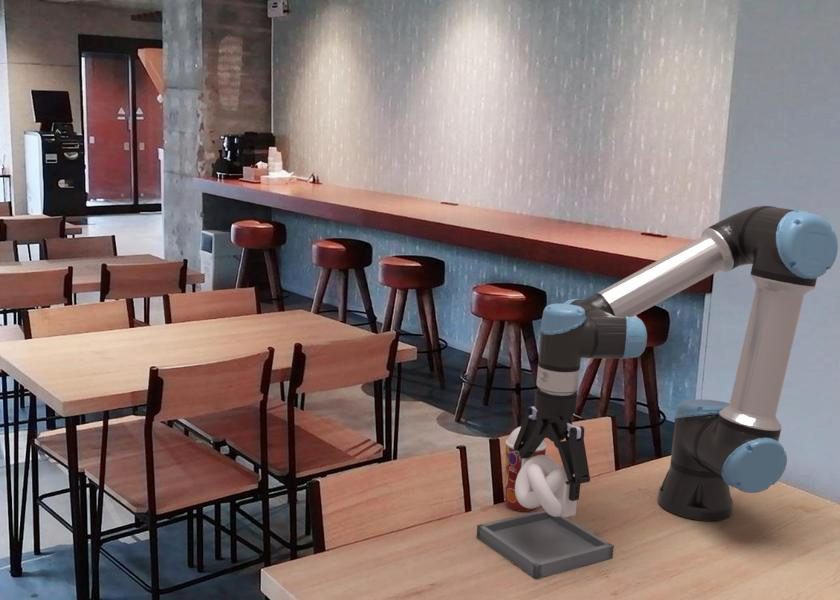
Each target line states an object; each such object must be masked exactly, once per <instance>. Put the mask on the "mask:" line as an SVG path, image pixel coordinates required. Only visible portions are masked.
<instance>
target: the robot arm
mask: <svg viewBox="0 0 840 600" xmlns="http://www.w3.org/2000/svg"><path fill="white" fill-rule="evenodd" d="M838 248H839V244H838V237H837V234H836V232H835V230H834V229H833V228H832V225H831V224H830V223H829V221H828V220H826V219H825V218H824V217H822V216H820V215H818V214H815V213H811V212H809V211H806V210H798V209H797V210H796V209H790V208H789V209H788V208H783V207H782V208H781V207H775V206H771V205H760V206H758V205H757V206H752V207H749V208H746V209H743V210H741V211H739V212H737V213H734V214H732V215H730V216H728V217H725V219H722V220H720V221H718V222H716V223H714V224H712V225H710V226H709V227H707V228H705V229H703V231H702V233H701V236H700V237H698V238H696V239H695V240H693V241H691V242H690V243H688V244H686V245H684V246H682V247H680V248H678V249H677V250H675V251H673V252H671V253H669V254H667V255H665V256H664V257H661V258H660V259H658V260H656V261H654V262H652V263H651V264H649V265H647V266H645V267H643V268H640V269H639V270H638V271H635V272H634V273H632V274H630V275H628V276H626V277H624V278H623V279H620V280H619V281H617V282H615V283H613V284H612V285H610V286H608V287H606V288H604V289H602V290H600V291H599V292H596V293H595V294H593V295H590V296H588V297H587V298H584V299H582V298H580V299H579V298H577V299H576V298H574V299H569V300H566V301H565V302H563V303H551V304H548V305H546V306H545V307H544V309H543V312H542V317H541V323H540V328H539V332H540V334H539V349H538V350H539V351H538V362H537V374H536V375H537V376H536V384H535V385H536V386H537V389H535V395H534V406H533V405H532V406H528V407H526V408H525V411H524V418H523V421H522V424H521V425H520V426H521V428H520V431H519V434H518V436H517V439H516V441H515V444H514V450H515V451H518V452H519V456H520V457H521V459H520V469H521V468H522V466H523V465H524V464H525V463H526V462H527V461H528V460H529V459H530V458H532V457H531V456H532V455H535V454H534V452H535V451H536V449H537V448H538V447H539V445H540V444H541V443H542V441H543V440H544V441H545V439H548V440H549V441H551V442H553V445H554V446H555V448H557V451H558V453H559V457H560V459H561V463H562V466H564V469H565V473H566V476H567V479H568V481H566V482H564V492H563V503H562V514H561V516H562V517H566V518H568V517H572V516H576V513H577V505H578V504H577V501H579V499H580V491H581V484H584V483H585V484H586V483H590V482H591V476H590V470H589V464H588V457H587V451H586V446H585V427H584V426H583V425H580V426H576V425H574V424H573V421H572V417H573V416H574V414H575V413H576V411H577V403H578V393H577V391H578V390H579V384H580V383H579V382H580V370H581V362H582V359H621V360H624V359H633V358H639V357H641V356H642V354H643V353H644V352H645V349H646V348H647V342H648V332H647V327H646V325H645V323H644V321H643V320H642V319H641V318H639V317H635V316H637V315H639V314H641V313H642V312H644V311H647V310H648V309H650V308H653V307H654V306H656V305H658V304H660V303H662V302H664V301H665V300H668V299H669V298H670V297H673V296H674V295H676V294H678V293H680V292H682V291H684V290H685V289H686V290H687V288H689V287H692V286H693V285H695V284H697V283H698V282H700V281H703V280H705V279H706V278H708V277H710V276H712V275H713V274H715V273H718V272H719V271H722V272H730V271H732V270H734V269H736V268H738V267H740V266H746V265H751V269H750V274H749V276H750V278H751V279H752V281H753V282H754V284H755V290H754V296H753V301H752V305H751V310H750V313H749V316H748V322H747V326H746V331H745V335H744V339H743V344H742V348H741V351H740V356H739V360H738V361H739V362H738V365H737V369H736V370H737V371H736V374H735V379H734V382H733V387H732V393H731V395H730V396H731V397H730V400H729V402H726V401H721V400H712V399H701V398H700V399H687V400H683V401H681V402H679V403H678V405H677V407H676V410H675V414H674V424H673V425H674V426H673V427H674V428H673V437H672V445H671V446H672V447H671V453H670V454H671V456H670V465H669V469H668V470H667V472H666V474H665V477H664V479H663V481H662V483H661V486H660V487H659V490H658V496H657V502H658V504H659V505H660V507H661V508H662V509H664V510H666V511H667V512H669V513H670V514H674V515H675V516H679V517H681V518H686V519H689V520H695V521H705V522H706V521H708V522H714V521H715V522H716V521H721V520H725V519H728V518H729V517H730V516H732V513H733V506H734V504H733V502H734V501H733V499H732V496H731V489H730V487H732V488H735V489H737V490H739V491H741V492H743V493H748V494H754V493H755V494H757V493H760V492H764V491H766V490H768V489H769V488H770V487H771V486H774V485H775V484H777V482H779V480H780V479H781V478H782V477H783V475H784V473H785V470H786V468H787V462H788V455H787V452H786V451H785V447H784V446H783V444H781V442H780V441H779V440H780V437H781V431H782V424H781V422H779V420H778V419H777V412H778V407H779V403H780V398H781V394H782V390H783V387H784V382H785V378H786V373H787V370H788V369H787V368H788V365H789V361H790V357H791V352H792V348H793V345H794V344H793V343H794V339H795V335H796V331H797V326H798V322H799V318H800V314H801V311H802V310H801V309H802V305H803V301H804V298H805V295H806V294H807V293H809V292H811V291H812V290H814V289H815V287H816V284H817V280H818V278H820V277H821V276H823V275H825V274H826V273H827V271H828V270H830V269H831V268H832V266H833V265H834V264H835V261H836V259H837V255H838ZM522 442H523V443H522ZM521 443H522V444H521ZM573 474H574V476H573ZM531 490H533V489H532V487H531Z"/></svg>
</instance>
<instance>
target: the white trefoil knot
mask: <svg viewBox="0 0 840 600" xmlns="http://www.w3.org/2000/svg"><path fill="white" fill-rule="evenodd" d="M573 476H574V474H573ZM566 481H568V479H567V476H566V473H565V469H564V466H563V465H561V466H560V465H559V464H558V463H557V461H556V460H555V459H554V458H553V457H551V456H549V455H546V454H545V455H536V456H534V457H532V458H530V459H529V460H528V461H527V462H526V463H525V464H524V465H523V466H522V468H521V469H520V471H519V473H518V476H517V479H516V483H515V495H516V498H517V500H518V502H519V503H520V505H522V506H523V507H526V508H529V509H532V508H534V509H535V508H539V507H542V509H543V510H545V511H546V512H547V513H548V514H549V515H551V516H554V517H558V516H561V514H562V503H563V492H564V482H566ZM531 487H532V489H533V491H532V492H531Z"/></svg>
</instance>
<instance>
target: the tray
mask: <svg viewBox="0 0 840 600" xmlns="http://www.w3.org/2000/svg"><path fill="white" fill-rule="evenodd" d="M476 538H477V540H479V541H481V543H484V544H486V546H488V547H489V548H491V549H492V548H493V550H494V551H495V550H496V551H495V552H496V553H498V554H499V553H500V555H501V556H502V555H503V556H502V557H504V558H505V559H506V560H508V561H509V560H510V561H509V562H511V563H512V562H513V563H512V564H514V565H515V564H516V565H517V566H516V565H515V566H516V567H518V568H519V567H520V569H521V570H522V571H524V572H525V573H526V574H528V575H529V576H531V577H532V578H534V579H535V580H539V579H542V578H546V577H549V576H553V575H556V574H560V573H564V572H567V571H571V570H574V569H577V568H582V567H586V566H591V565H592V564H597V563H600V562H604V561H608V560H610V559H613V556H614V550H615V549H614V548H615V545H614V544H612V543H611V542H609V541H607V540H605V539H604V538H601V537H600V536H599V535H597V534H595V533H594V532H591V531H590V530H588V529H587V528H585V527H583V526H581V525H579V524H578V523H576V522H575V521H573V520H571V519H570V518H568V517H562V516H558V517H554V516H551V515H549V514H548V513H547V512H546V511H545V510H544V509H543V510H538V511H533V512H529V513H525V514H520V515H516V516H515V515H514V516H512V517H511V516H510V517H507V518H503V519H498V520H495V521H494V520H493V521H489V522H485V523H480V524H477V526H476Z"/></svg>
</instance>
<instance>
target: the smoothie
mask: <svg viewBox="0 0 840 600" xmlns="http://www.w3.org/2000/svg"><path fill="white" fill-rule="evenodd" d="M521 426H522V425H520V426H518V427H516V428H514V429H513V430H512V432H511V433H510V434H509V436H508V438H506V440H505V476H504V477H505V484H504V485H505V487H504V489H505V491H504V492H505V494H504V495H505V496H504V498H505V501H506V502H507V506H508V507H509V508H511V510H514V509H515V511H517V510H519V512H529V510H530V511H533V510H534V509H535V508H532V509H529V508H526V507H523V506H522V505H520V503H519V502H518V500H517V498H516V495H515V483H516V479H517V476H518V473H519V471H520V459H521V457H520V456H519V452H518V451H515V450H514V444H515V441H516V439H517V436H518V434H519V431H520V428H521ZM522 443H523V442H522ZM522 443H521V444H522ZM547 445H548V444H547V443H546V442H545V439H544V440H543V441H542V443H541V444H540V445H539V447H538V448H537V449H536V451H535V452H534V454H535V455H532V456H531V457H534V456H536V455H546V450H547ZM532 491H533V490H531V492H532Z"/></svg>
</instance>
